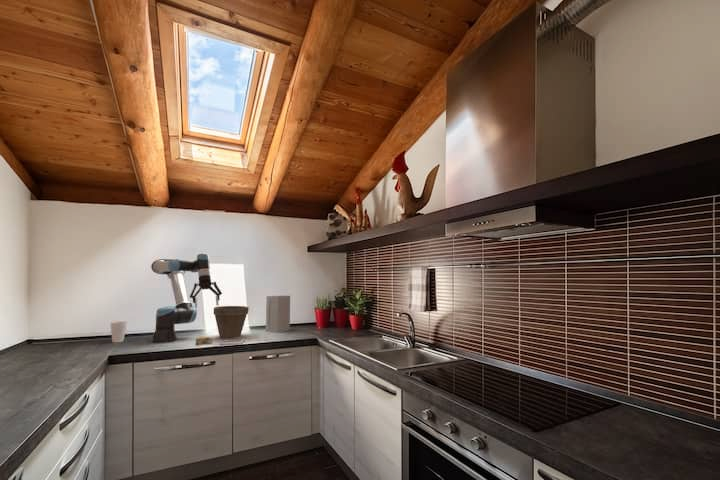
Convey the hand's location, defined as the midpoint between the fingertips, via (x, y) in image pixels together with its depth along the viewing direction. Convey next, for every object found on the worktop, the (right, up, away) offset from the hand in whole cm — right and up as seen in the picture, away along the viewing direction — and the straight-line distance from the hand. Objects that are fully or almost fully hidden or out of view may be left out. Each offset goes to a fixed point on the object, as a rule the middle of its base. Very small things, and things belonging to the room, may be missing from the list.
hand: (207, 306), depth 246 cm
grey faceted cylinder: (+37, -29, +51) cm, 69 cm away
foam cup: (-65, -26, +7) cm, 70 cm away
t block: (-1, -25, 0) cm, 25 cm away
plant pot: (+6, -27, +26) cm, 38 cm away
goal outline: (+16, -25, +2) cm, 30 cm away
